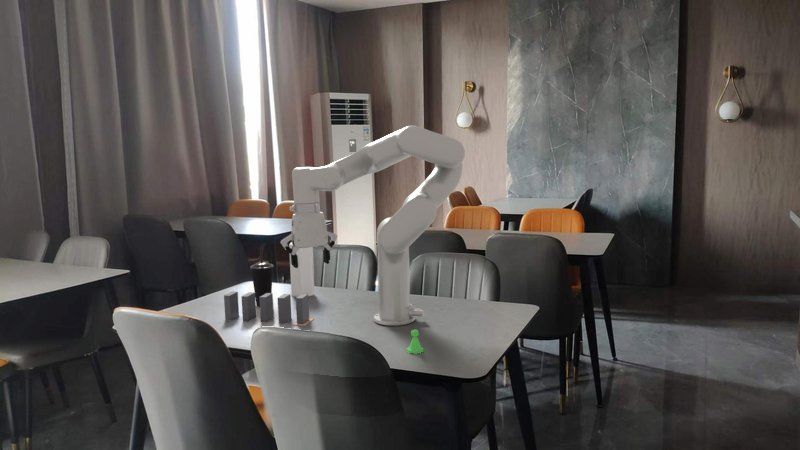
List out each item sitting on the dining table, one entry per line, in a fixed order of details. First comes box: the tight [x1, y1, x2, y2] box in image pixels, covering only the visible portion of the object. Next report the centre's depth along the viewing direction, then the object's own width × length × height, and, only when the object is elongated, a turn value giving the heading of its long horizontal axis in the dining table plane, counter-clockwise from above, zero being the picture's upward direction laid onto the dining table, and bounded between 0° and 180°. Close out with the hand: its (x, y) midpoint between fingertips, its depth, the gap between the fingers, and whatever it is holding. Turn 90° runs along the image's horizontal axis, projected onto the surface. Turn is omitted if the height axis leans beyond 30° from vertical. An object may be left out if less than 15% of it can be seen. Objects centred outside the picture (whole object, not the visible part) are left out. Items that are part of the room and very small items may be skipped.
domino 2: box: [241, 292, 257, 323], centre depth 188 cm, size 2×5×8 cm, turn 166°
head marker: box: [292, 317, 314, 327], centre depth 184 cm, size 4×7×1 cm, turn 167°
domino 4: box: [277, 293, 292, 324], centre depth 185 cm, size 2×5×8 cm, turn 166°
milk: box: [288, 241, 316, 298], centre depth 215 cm, size 6×6×22 cm
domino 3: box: [259, 292, 275, 324], centre depth 186 cm, size 2×5×8 cm, turn 166°
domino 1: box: [223, 291, 240, 321], centre depth 189 cm, size 2×5×8 cm, turn 166°
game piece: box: [406, 328, 424, 355], centre depth 156 cm, size 4×4×6 cm
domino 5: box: [295, 294, 310, 324], centre depth 183 cm, size 2×5×8 cm, turn 166°
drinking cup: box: [250, 246, 274, 308], centre depth 203 cm, size 8×8×20 cm
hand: (311, 265), depth 181 cm, fingers open, 9 cm apart
